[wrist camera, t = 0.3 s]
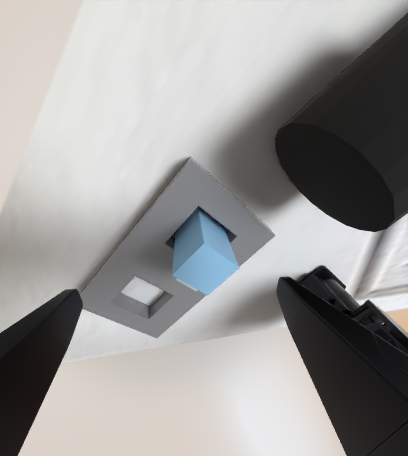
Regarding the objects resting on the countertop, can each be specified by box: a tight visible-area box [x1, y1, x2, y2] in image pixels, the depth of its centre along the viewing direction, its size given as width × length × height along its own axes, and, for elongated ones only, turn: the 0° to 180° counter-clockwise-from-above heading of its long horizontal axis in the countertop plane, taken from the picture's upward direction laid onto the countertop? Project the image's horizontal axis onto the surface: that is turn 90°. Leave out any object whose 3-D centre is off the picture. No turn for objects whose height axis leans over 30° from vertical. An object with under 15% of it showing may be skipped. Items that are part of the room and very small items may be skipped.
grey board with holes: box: [80, 157, 275, 338], centre depth 23 cm, size 12×22×2 cm, turn 138°
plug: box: [172, 208, 239, 295], centre depth 19 cm, size 4×5×7 cm
